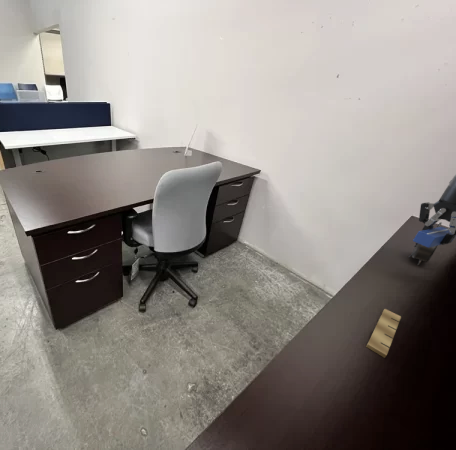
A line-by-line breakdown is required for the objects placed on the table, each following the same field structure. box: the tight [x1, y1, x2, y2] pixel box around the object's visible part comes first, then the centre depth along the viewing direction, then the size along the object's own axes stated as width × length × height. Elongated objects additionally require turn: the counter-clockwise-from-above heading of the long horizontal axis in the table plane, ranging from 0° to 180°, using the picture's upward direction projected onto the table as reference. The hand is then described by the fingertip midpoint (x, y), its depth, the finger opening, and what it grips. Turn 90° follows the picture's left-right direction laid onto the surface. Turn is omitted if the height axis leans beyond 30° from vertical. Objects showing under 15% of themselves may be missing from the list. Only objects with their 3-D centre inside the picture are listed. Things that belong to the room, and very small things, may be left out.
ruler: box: [365, 308, 402, 359], centre depth 61 cm, size 18×4×1 cm, turn 129°
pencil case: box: [412, 226, 456, 248], centre depth 74 cm, size 12×4×4 cm, turn 109°
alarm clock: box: [408, 221, 443, 266], centre depth 87 cm, size 11×5×16 cm, turn 129°
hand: (433, 240), depth 74 cm, fingers closed on pencil case, 4 cm apart
